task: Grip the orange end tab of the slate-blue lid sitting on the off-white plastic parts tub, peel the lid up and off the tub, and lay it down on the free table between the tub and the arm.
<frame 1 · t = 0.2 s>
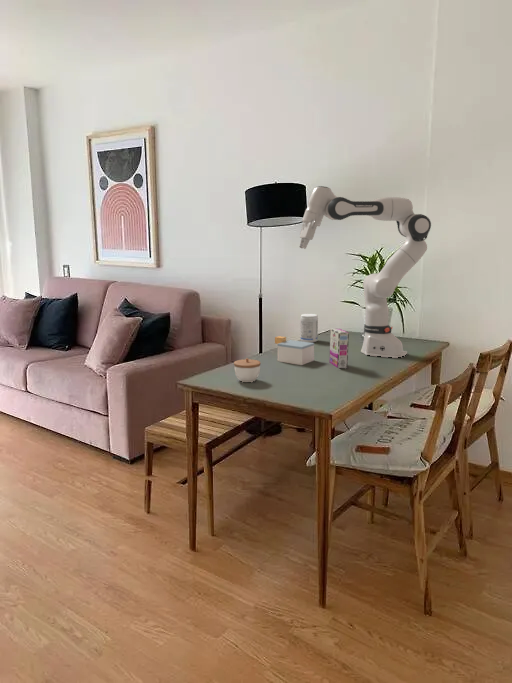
hand: (302, 248, 253), 52 cm above the table, tool tilted 20°, fingers open, 8 cm apart
tub: (295, 362, 246), on the table
supplement tub: (308, 341, 295), on the table
candy bar box: (338, 366, 239), on the table
part b: (290, 360, 247), point 1 cm above the table, touching tub
part a: (300, 361, 245), point 1 cm above the table, touching tub
lid: (295, 345, 245), point 8 cm above the table, touching tub
lidded jar: (247, 381, 216), on the table
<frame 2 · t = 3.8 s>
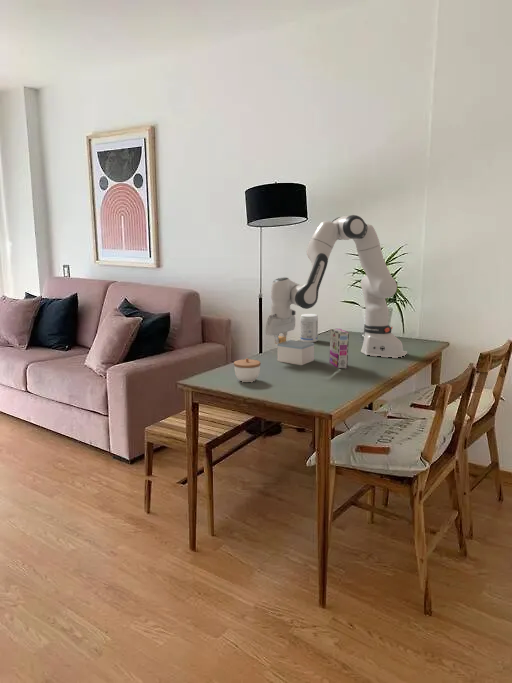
hand: (280, 342, 250), 9 cm above the table, tool pointing down, fingers closed on lid, 3 cm apart
lid: (295, 345, 245), point 8 cm above the table, touching gripper, tub
everything else where it was.
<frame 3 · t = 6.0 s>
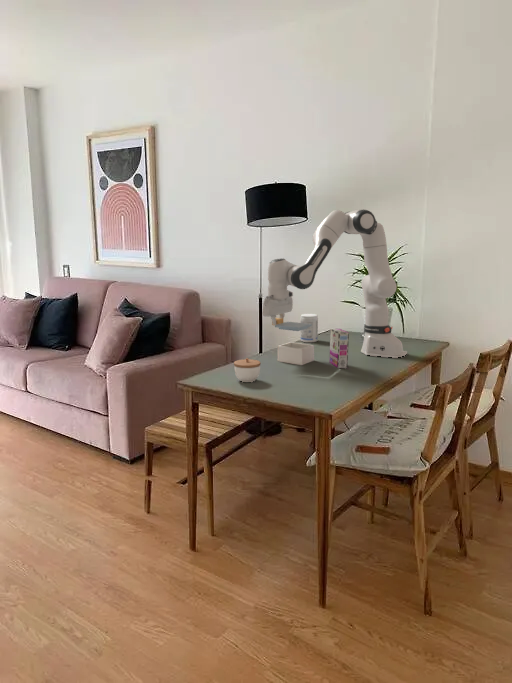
hand: (277, 323, 249), 17 cm above the table, tool pointing down, fingers closed on lid, 3 cm apart
lid: (293, 326, 244), point 17 cm above the table, touching gripper
everything else where it was.
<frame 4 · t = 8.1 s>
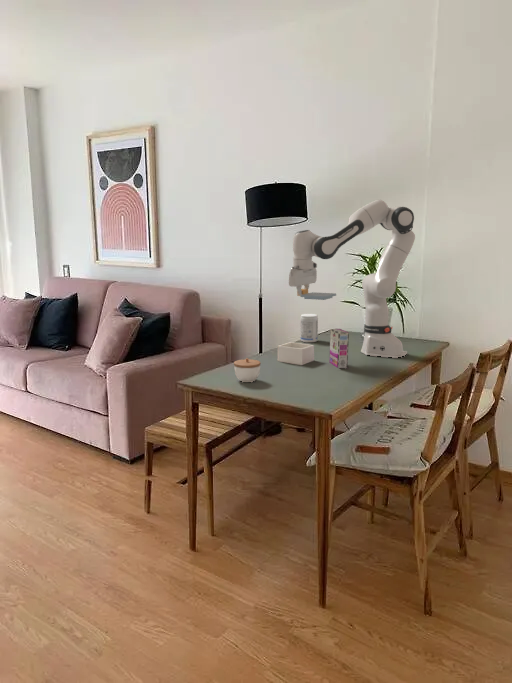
hand: (302, 294, 255), 30 cm above the table, tool pointing down, fingers closed on lid, 3 cm apart
lid: (318, 296, 250), point 30 cm above the table, touching gripper
everything else where it was.
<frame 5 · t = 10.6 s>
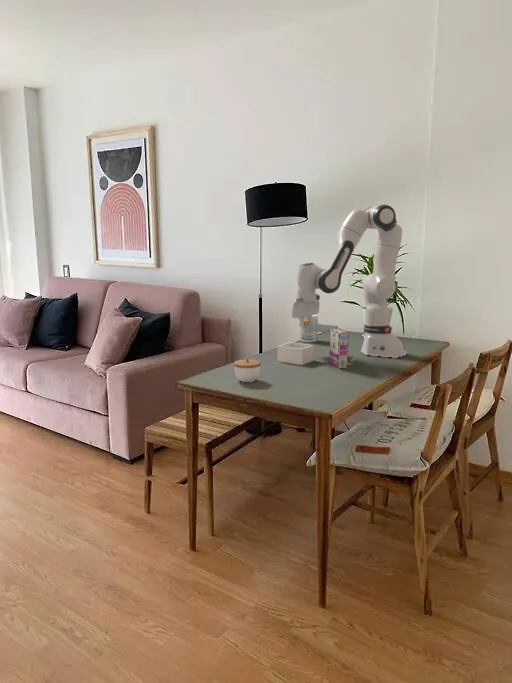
hand: (305, 325, 259), 15 cm above the table, tool pointing down, fingers closed on lid, 3 cm apart
lid: (320, 328, 254), point 14 cm above the table, touching gripper
everything else where it was.
when the fingers open (4 cm above the table, at t = 12.7 s): lid drops 3 cm, point 1 cm above the table.
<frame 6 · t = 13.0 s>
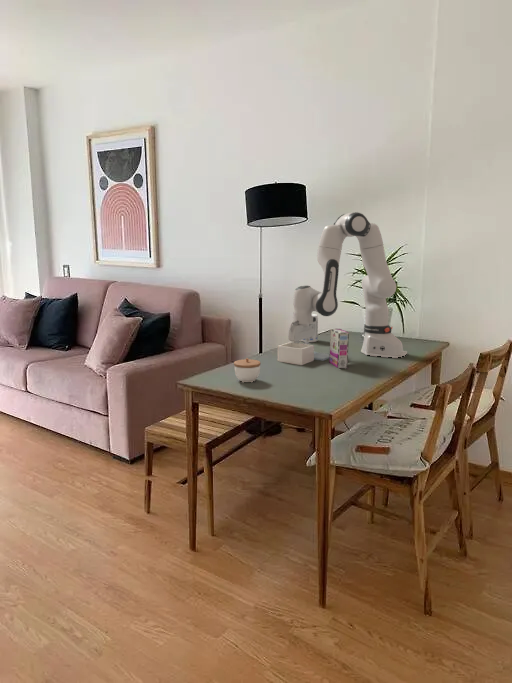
hand: (302, 347, 258), 4 cm above the table, tool pointing down, fingers open, 6 cm apart
lid: (316, 356, 254), point 1 cm above the table
everything else where it was.
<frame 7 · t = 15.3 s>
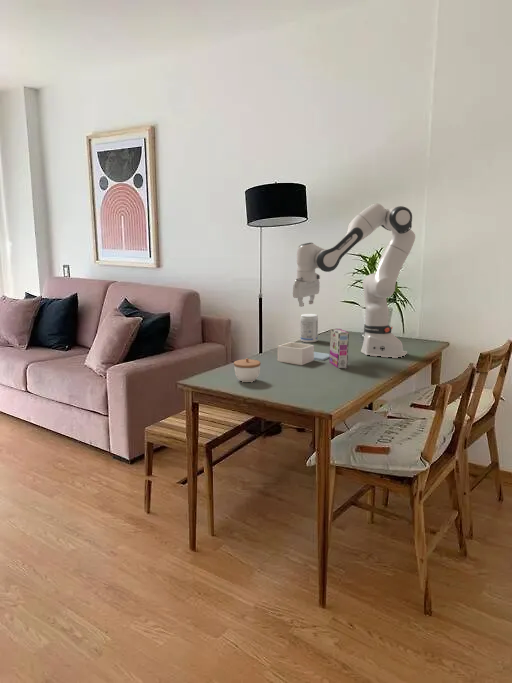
hand: (306, 305, 260), 24 cm above the table, tool pointing down, fingers open, 8 cm apart
nothing on the table moved.
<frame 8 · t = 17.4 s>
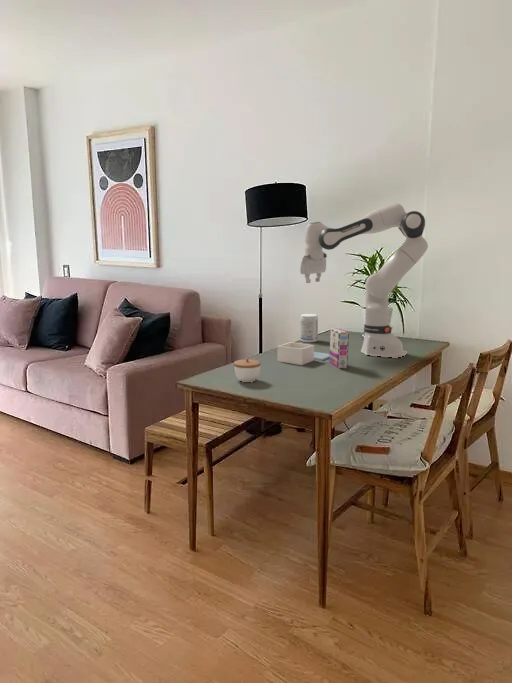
hand: (313, 282, 272), 34 cm above the table, tool pointing down, fingers open, 8 cm apart
nothing on the table moved.
at the end: lid inside the target area (8.2 cm from its centre), point 0.6 cm above the table; lid touching table; the gripper is holding nothing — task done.
